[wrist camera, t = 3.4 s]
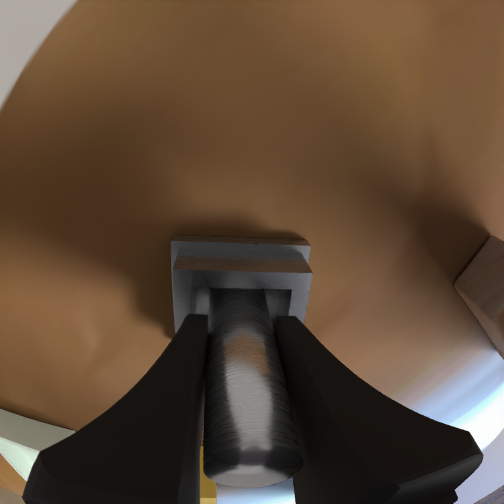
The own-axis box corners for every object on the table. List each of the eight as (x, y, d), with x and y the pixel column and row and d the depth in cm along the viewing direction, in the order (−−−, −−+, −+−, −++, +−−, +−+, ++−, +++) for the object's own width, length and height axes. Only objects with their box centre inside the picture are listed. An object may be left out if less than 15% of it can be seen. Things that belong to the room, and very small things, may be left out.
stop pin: (268, 279, 12) (313, 442, 5) (263, 327, 13) (294, 484, 6) (209, 277, 11) (200, 446, 5) (209, 326, 12) (205, 487, 6)
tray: (74, 430, 16) (65, 459, 14) (114, 492, 20) (111, 513, 18) (-9, 405, 15) (-20, 427, 13) (43, 473, 19) (37, 491, 17)
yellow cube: (215, 445, 17) (216, 498, 13) (215, 470, 19) (217, 516, 15) (152, 441, 17) (146, 493, 13) (161, 467, 18) (157, 512, 14)
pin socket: (306, 240, 12) (323, 264, 10) (289, 343, 14) (299, 377, 12) (173, 234, 11) (162, 259, 9) (178, 342, 13) (172, 376, 11)
